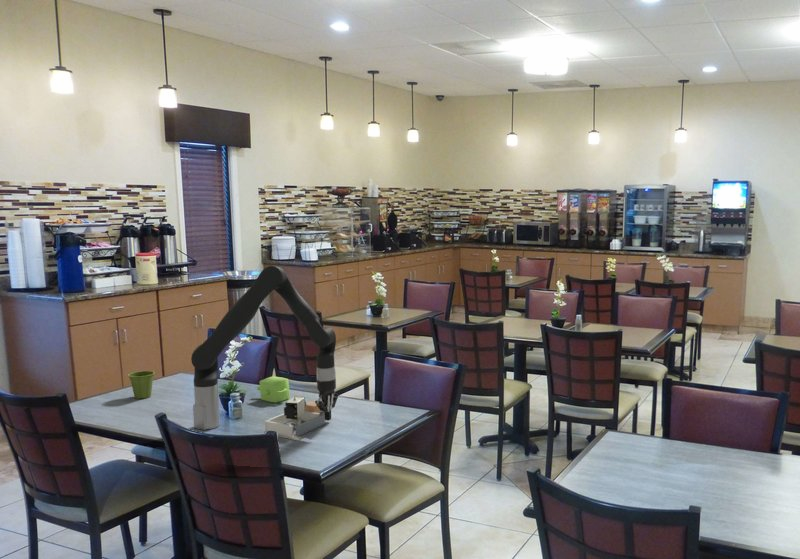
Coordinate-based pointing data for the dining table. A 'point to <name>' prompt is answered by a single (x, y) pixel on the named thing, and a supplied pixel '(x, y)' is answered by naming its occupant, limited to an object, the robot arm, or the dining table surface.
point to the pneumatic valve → (295, 410)
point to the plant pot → (142, 383)
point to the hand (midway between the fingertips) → (327, 419)
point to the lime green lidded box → (274, 389)
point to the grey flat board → (310, 424)
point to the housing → (284, 429)
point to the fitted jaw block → (312, 407)
